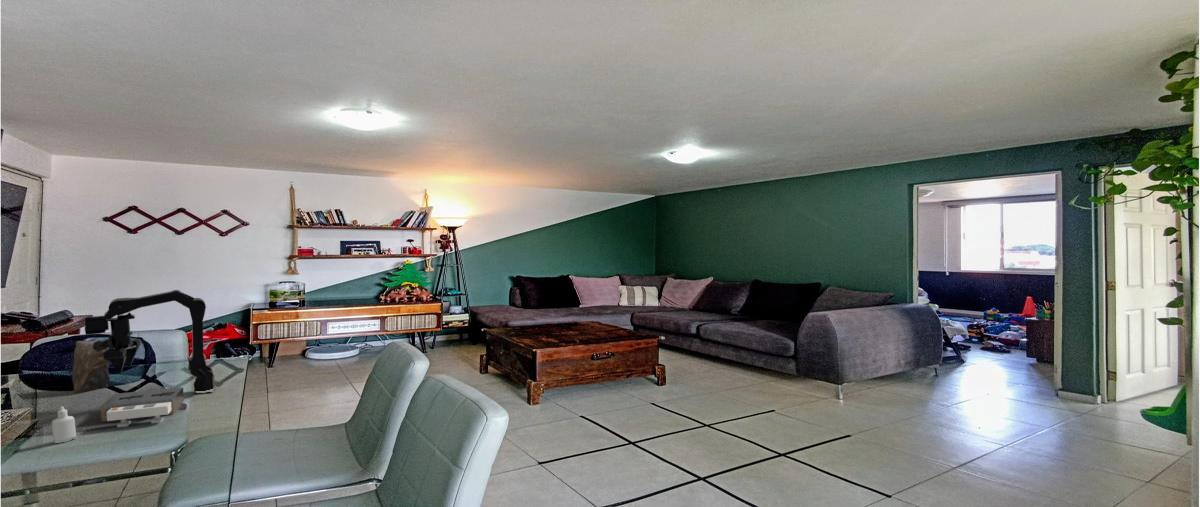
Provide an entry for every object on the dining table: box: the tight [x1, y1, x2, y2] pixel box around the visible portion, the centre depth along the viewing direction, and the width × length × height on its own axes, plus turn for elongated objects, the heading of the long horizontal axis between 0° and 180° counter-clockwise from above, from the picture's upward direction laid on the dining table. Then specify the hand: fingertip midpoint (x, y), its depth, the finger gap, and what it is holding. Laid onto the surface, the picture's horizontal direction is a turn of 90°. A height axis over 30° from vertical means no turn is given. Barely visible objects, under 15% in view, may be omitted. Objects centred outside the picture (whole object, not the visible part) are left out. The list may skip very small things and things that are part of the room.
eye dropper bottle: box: [51, 406, 77, 440], centre depth 198 cm, size 4×6×12 cm
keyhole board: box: [100, 386, 185, 423], centre depth 224 cm, size 22×14×6 cm, turn 112°
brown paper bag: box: [71, 339, 111, 395], centre depth 249 cm, size 13×13×20 cm
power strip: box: [106, 402, 172, 428], centre depth 213 cm, size 18×4×7 cm, turn 112°
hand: (124, 369), depth 230 cm, fingers open, 9 cm apart
